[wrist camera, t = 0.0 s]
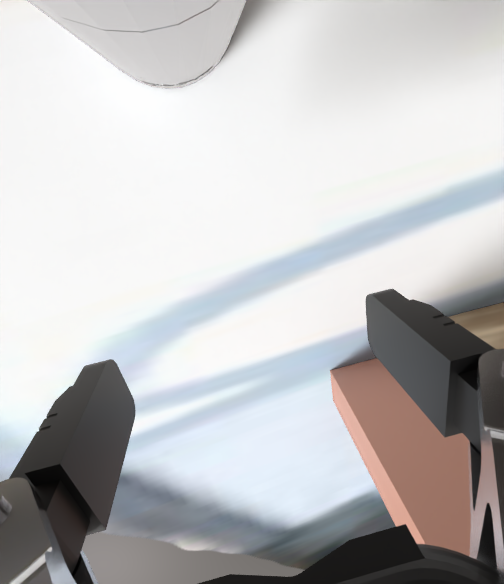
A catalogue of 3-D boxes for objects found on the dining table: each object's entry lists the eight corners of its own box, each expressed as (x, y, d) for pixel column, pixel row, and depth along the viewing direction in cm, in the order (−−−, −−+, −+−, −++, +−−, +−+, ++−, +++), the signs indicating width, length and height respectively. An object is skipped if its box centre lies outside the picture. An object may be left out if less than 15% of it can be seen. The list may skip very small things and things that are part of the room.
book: (330, 370, 35) (441, 573, 19) (450, 338, 35) (656, 509, 20) (333, 400, 37) (434, 604, 21) (446, 370, 38) (627, 546, 22)
